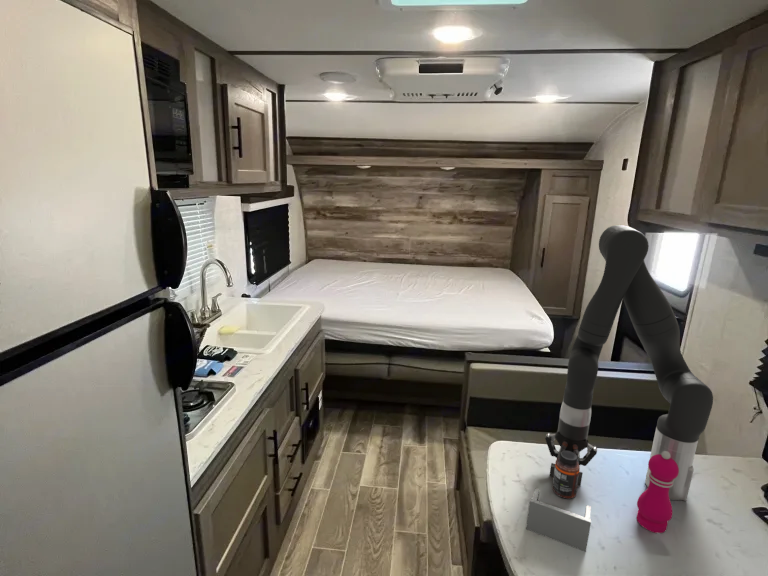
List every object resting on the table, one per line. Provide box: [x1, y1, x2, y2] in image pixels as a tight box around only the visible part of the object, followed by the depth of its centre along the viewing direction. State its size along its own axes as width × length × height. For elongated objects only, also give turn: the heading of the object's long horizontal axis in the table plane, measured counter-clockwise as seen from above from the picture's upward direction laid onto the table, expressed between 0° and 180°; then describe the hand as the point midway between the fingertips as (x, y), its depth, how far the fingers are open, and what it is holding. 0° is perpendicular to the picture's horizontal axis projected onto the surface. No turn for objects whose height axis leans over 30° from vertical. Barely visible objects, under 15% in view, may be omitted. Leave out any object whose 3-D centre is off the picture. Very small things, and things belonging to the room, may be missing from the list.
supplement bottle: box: [552, 451, 581, 499], centre depth 113 cm, size 6×6×11 cm
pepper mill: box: [636, 451, 679, 534], centre depth 102 cm, size 7×7×20 cm
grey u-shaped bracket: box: [525, 488, 592, 552], centre depth 102 cm, size 13×11×8 cm
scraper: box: [548, 462, 583, 488], centre depth 120 cm, size 8×8×6 cm
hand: (566, 471), depth 121 cm, fingers closed on scraper, 3 cm apart
